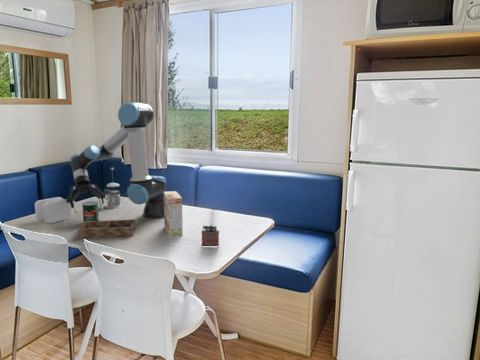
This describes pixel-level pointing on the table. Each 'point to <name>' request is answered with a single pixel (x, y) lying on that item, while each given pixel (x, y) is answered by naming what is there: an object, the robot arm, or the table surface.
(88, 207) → the canned tomato
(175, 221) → the coffeecake box
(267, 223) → the table surface
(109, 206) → the french press
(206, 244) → the lighter
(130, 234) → the slot caddy
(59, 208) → the cable organizer
